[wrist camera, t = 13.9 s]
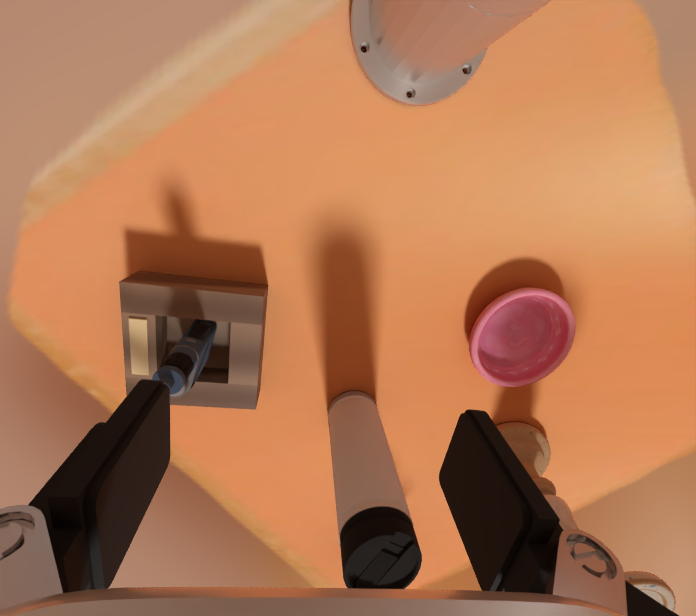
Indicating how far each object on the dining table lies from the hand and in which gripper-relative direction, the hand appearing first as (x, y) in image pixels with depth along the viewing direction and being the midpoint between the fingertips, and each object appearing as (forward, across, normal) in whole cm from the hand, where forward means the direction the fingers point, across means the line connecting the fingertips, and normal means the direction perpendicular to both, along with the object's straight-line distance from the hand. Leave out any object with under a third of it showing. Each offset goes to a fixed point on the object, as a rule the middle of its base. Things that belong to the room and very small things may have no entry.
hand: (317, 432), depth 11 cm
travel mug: (+28, -8, +20) cm, 35 cm away
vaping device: (+27, +11, +12) cm, 31 cm away
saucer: (+29, -25, +7) cm, 39 cm away
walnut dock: (+28, +11, +12) cm, 32 cm away
